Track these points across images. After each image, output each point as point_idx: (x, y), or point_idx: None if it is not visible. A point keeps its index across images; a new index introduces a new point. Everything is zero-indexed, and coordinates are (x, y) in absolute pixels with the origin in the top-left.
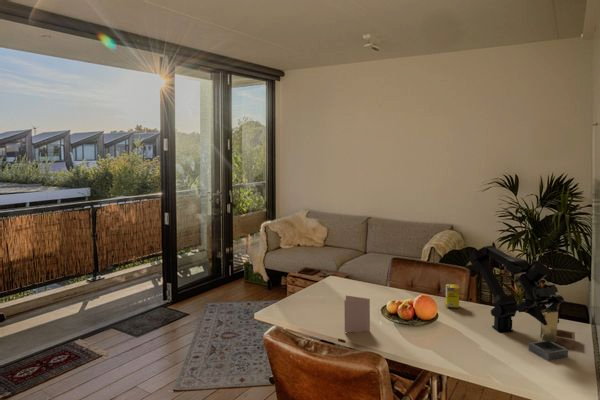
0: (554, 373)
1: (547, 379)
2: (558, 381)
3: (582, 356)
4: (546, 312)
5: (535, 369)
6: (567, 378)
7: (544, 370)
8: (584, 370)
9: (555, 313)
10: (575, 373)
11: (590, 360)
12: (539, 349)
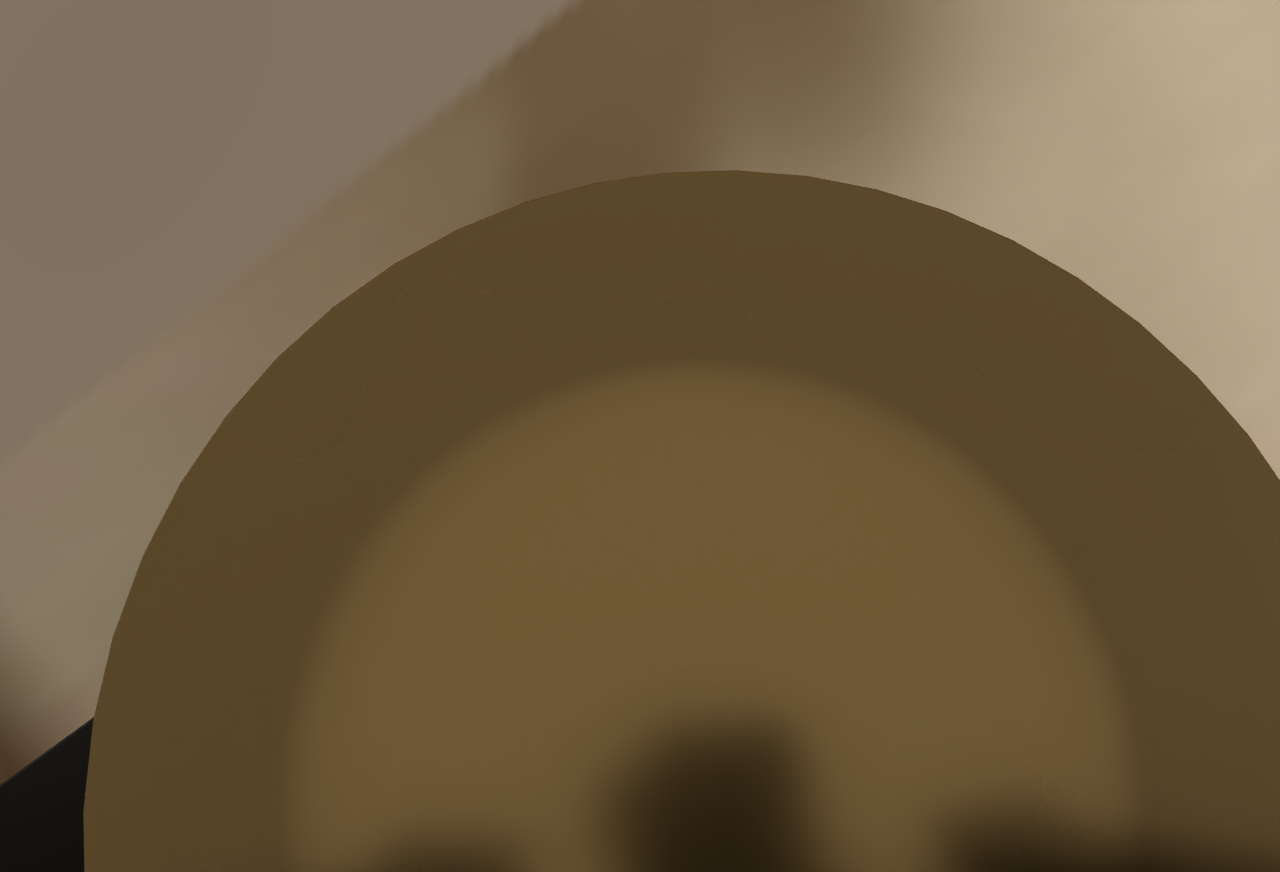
0: (1048, 191)
1: (1261, 93)
2: (1141, 20)
3: (112, 514)
4: (1144, 669)
5: (1266, 359)
6: (961, 45)
7: (1141, 298)
8: (532, 145)
9: (594, 290)
10: (739, 115)
11: (129, 361)
12: None
